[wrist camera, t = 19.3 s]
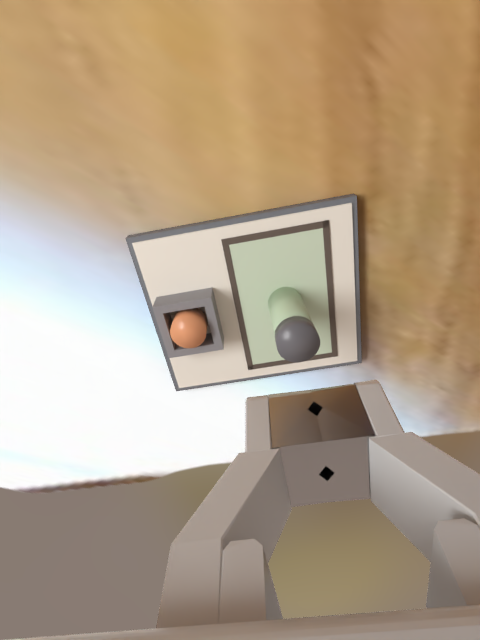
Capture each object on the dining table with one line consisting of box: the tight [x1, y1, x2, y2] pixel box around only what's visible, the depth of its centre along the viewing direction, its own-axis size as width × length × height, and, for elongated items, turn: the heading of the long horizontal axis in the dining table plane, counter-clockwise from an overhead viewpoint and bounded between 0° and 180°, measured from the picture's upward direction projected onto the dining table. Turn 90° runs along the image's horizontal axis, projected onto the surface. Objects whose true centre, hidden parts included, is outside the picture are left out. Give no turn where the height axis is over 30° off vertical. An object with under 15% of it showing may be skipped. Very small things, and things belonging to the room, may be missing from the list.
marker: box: [268, 287, 320, 363], centre depth 33 cm, size 4×4×8 cm
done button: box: [170, 308, 208, 348], centre depth 36 cm, size 3×3×2 cm
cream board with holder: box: [126, 194, 362, 391], centre depth 37 cm, size 21×18×4 cm
